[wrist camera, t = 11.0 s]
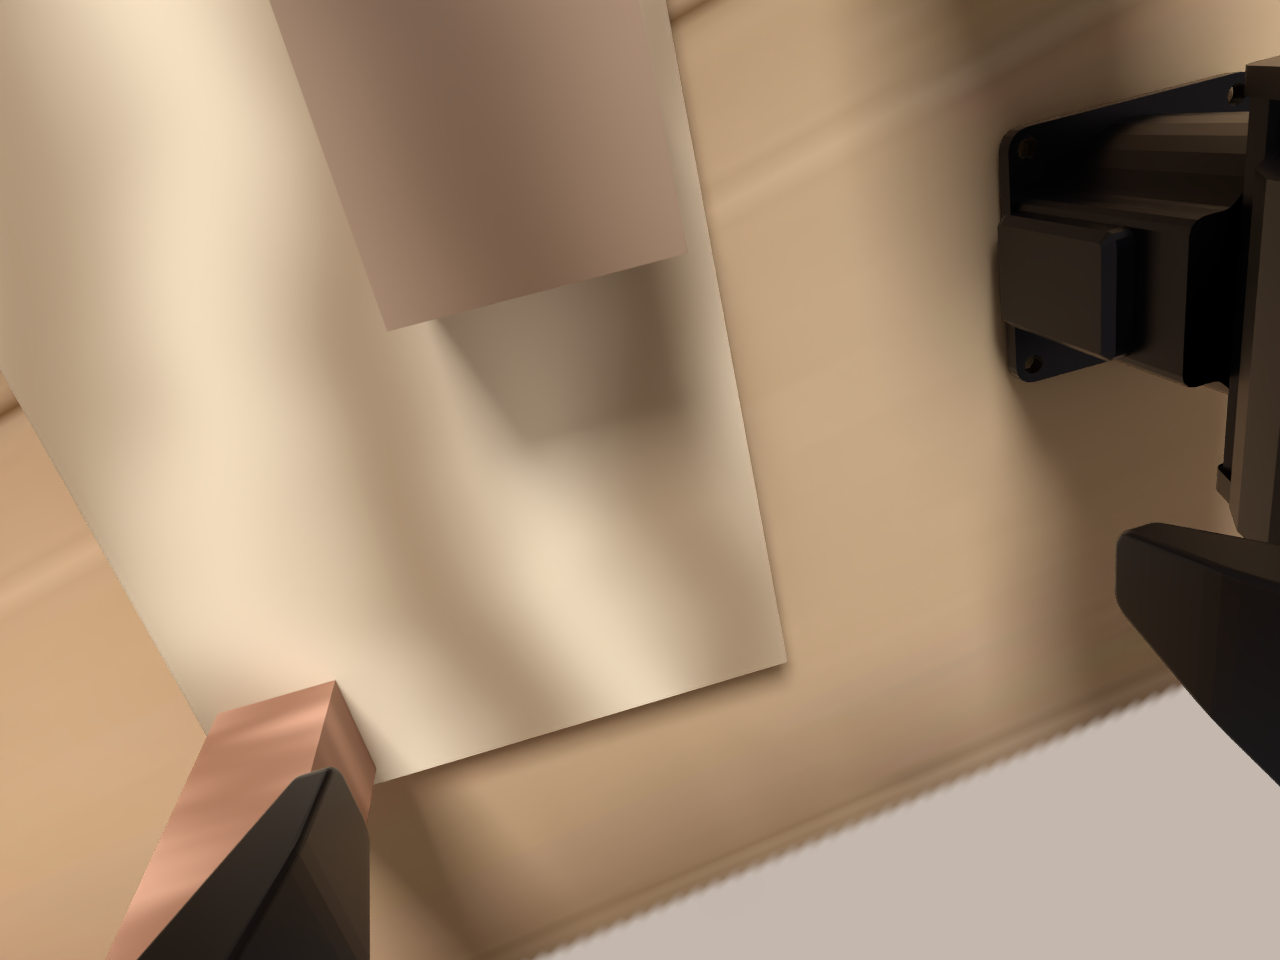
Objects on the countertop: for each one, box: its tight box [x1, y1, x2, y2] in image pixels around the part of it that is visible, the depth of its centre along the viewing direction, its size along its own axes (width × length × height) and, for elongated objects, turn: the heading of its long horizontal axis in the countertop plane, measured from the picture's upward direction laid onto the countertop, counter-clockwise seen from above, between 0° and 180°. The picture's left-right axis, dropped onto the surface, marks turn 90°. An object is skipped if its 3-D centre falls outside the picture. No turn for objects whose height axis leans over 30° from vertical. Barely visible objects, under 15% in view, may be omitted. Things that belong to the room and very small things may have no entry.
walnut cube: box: [269, 0, 688, 332], centre depth 15 cm, size 5×5×5 cm
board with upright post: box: [0, 0, 787, 960], centre depth 15 cm, size 15×19×13 cm
